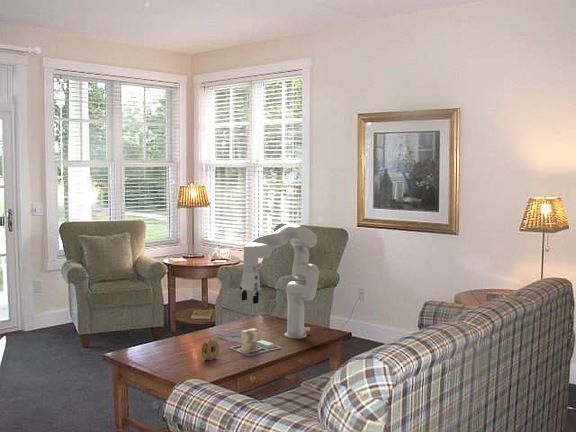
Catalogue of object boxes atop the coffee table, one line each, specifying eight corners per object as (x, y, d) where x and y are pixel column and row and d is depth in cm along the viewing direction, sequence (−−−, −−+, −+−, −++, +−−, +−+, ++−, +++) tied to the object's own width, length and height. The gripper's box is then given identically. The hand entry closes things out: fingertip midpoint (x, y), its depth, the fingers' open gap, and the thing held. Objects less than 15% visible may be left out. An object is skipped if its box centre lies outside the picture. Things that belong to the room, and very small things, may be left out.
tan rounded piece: (206, 362, 309) (206, 342, 308) (200, 361, 311) (200, 341, 310) (220, 357, 317) (220, 338, 317) (215, 356, 320) (215, 336, 319)
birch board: (253, 350, 330) (253, 328, 329) (257, 351, 328) (257, 329, 327) (241, 353, 325) (241, 330, 324) (244, 354, 323) (245, 331, 322)
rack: (261, 343, 343) (261, 340, 342) (281, 351, 330) (281, 347, 330) (228, 351, 328) (228, 347, 328) (248, 359, 316) (248, 355, 315)
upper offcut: (262, 343, 338) (262, 340, 338) (273, 347, 332) (273, 343, 332) (256, 345, 335) (256, 341, 335) (267, 349, 329) (267, 345, 329)
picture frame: (216, 338, 355) (240, 346, 339) (216, 333, 355) (240, 342, 339) (239, 333, 366) (263, 341, 350) (239, 329, 366) (263, 336, 350)
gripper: (266, 270, 319) (266, 303, 320) (246, 266, 332) (245, 298, 333) (255, 271, 314) (254, 305, 315) (234, 267, 327) (234, 299, 329)
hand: (249, 301), depth 324 cm, fingers open, 9 cm apart
